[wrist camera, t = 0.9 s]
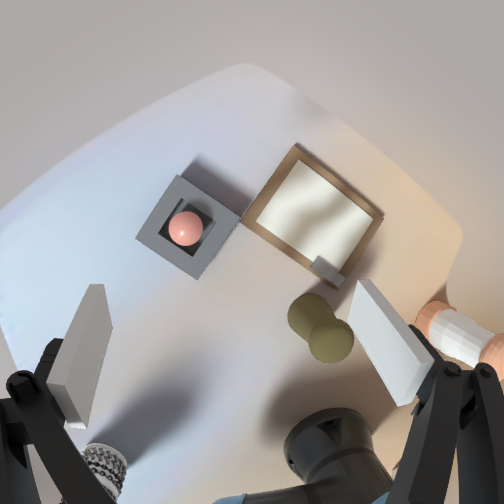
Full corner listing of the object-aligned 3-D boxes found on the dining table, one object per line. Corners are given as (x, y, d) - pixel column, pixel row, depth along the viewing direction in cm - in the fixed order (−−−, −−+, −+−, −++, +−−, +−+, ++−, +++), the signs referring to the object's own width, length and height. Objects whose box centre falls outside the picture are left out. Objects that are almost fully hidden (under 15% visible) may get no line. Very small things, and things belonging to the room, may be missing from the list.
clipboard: (381, 218, 43) (386, 218, 42) (335, 288, 44) (338, 291, 42) (292, 146, 40) (295, 144, 39) (239, 222, 41) (240, 222, 40)
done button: (209, 222, 38) (209, 224, 36) (191, 249, 38) (190, 252, 36) (182, 204, 38) (181, 204, 35) (165, 231, 38) (162, 233, 35)
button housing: (238, 216, 41) (240, 217, 38) (198, 275, 41) (197, 280, 38) (179, 176, 39) (177, 174, 36) (140, 235, 40) (135, 238, 37)
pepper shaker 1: (308, 284, 43) (338, 309, 32) (337, 311, 44) (371, 341, 34) (278, 317, 43) (298, 352, 33) (308, 342, 45) (334, 380, 34)
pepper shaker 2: (407, 332, 47) (484, 385, 28) (429, 293, 46) (515, 331, 27) (432, 347, 48) (505, 396, 29) (453, 310, 47) (532, 348, 29)
